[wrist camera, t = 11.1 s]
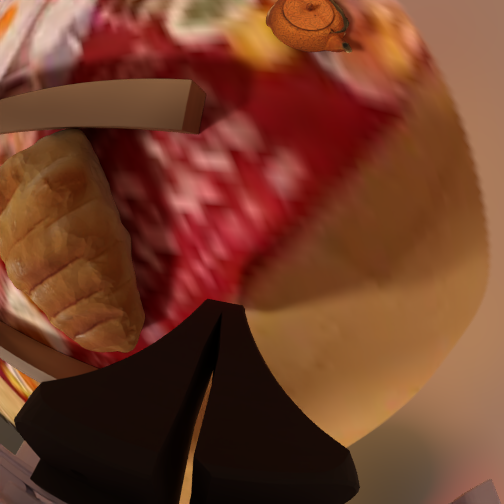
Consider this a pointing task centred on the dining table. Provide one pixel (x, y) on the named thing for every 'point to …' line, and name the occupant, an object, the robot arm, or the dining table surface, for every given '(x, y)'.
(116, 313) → the pastry
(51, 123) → the rail
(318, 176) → the dining table surface
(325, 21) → the round teapot
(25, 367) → the rail
